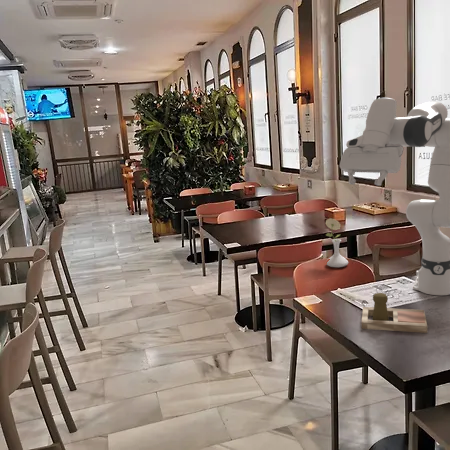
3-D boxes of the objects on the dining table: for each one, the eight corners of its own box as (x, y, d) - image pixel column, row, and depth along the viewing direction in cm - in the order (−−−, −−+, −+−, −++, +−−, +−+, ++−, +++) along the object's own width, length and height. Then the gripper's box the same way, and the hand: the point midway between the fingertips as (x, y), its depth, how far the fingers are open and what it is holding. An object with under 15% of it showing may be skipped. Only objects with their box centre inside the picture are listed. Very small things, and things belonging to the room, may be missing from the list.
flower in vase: (353, 265, 234) (351, 218, 228) (337, 270, 228) (335, 222, 223) (334, 260, 245) (333, 215, 239) (319, 265, 239) (317, 219, 234)
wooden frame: (363, 312, 178) (363, 306, 177) (424, 316, 171) (424, 309, 170) (361, 328, 165) (361, 321, 165) (427, 332, 158) (427, 325, 157)
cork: (385, 317, 172) (385, 290, 170) (391, 324, 167) (391, 296, 164) (369, 318, 172) (369, 291, 170) (375, 325, 166) (375, 297, 164)
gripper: (409, 147, 142) (399, 189, 141) (352, 148, 157) (342, 186, 156) (400, 139, 138) (390, 182, 136) (342, 141, 153) (332, 180, 151)
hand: (364, 184), depth 146 cm, fingers open, 8 cm apart
